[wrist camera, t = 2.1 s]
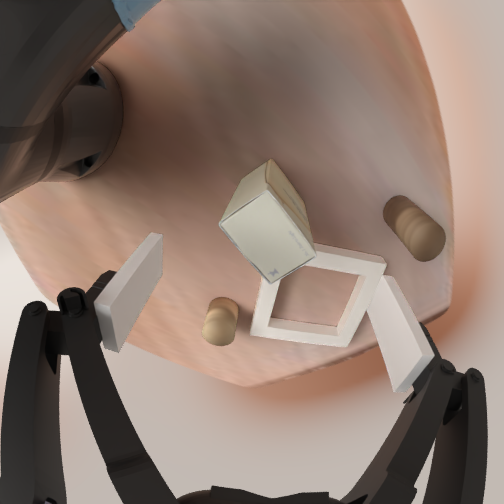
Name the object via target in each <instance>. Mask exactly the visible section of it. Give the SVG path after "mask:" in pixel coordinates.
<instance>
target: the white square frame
mask: <svg viewBox="0 0 504 504" xmlns="http://www.w3.org/2000/svg"><path fill="white" fill-rule="evenodd" d="M314 247H315V251H316V255H317V256H316V258H315V259H313V260H312V261H310V262H308V263H307V264H305V265H306V266H312V267H317V268H323V269H329V270H334V271H340V272H345V273H351V274H357V275H359V277H358V280H357V282H356V284H355V287H354V289H353V292H352V294H351V296H350V298H349V301H348V303H347V305H346V308H345V310H344V312H343V314H342V316H341V319H340V321H339V323H338V325H337V327H336V326H328V325H320V324H313V323H305V322H298V321H292V320H285V319H278V318H272V317H270V316H271V312H272V309H273V305H274V302H275V298H276V294H277V291H278V287H279V284H280V280H281V279H280V280H278V281H277V282H275V283H273V284H271V285H270V284H268V282H267V281H266V280H265V279H264V278H263V277H262V278H261V283H260V287H259V291H258V296H257V300H256V304H255V309H254V313H253V317H252V321H251V327H250V335H253V336H259V337H266V338H272V339H279V340H286V341H294V342H302V343H310V344H318V345H328V346H337V347H347V346H348V344H349V342H350V341H351V339H352V337H353V335H354V333H355V331H356V329H357V327H358V325H359V323H360V321H361V320H362V318H363V316H364V314H365V312H366V309H367V307H368V305H369V303H370V301H371V299H372V297H373V295H374V293H375V291H376V288H377V286H378V284H379V282H380V280H381V277H382V275H383V273H384V271H385V268H386V266H387V264H386V262H385V261H384V259H383V257H382V256H378V255H373V254H368V253H363V252H358V251H353V250H348V249H343V248H338V247H333V246H328V245H323V244H318V243H314Z"/></svg>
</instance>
